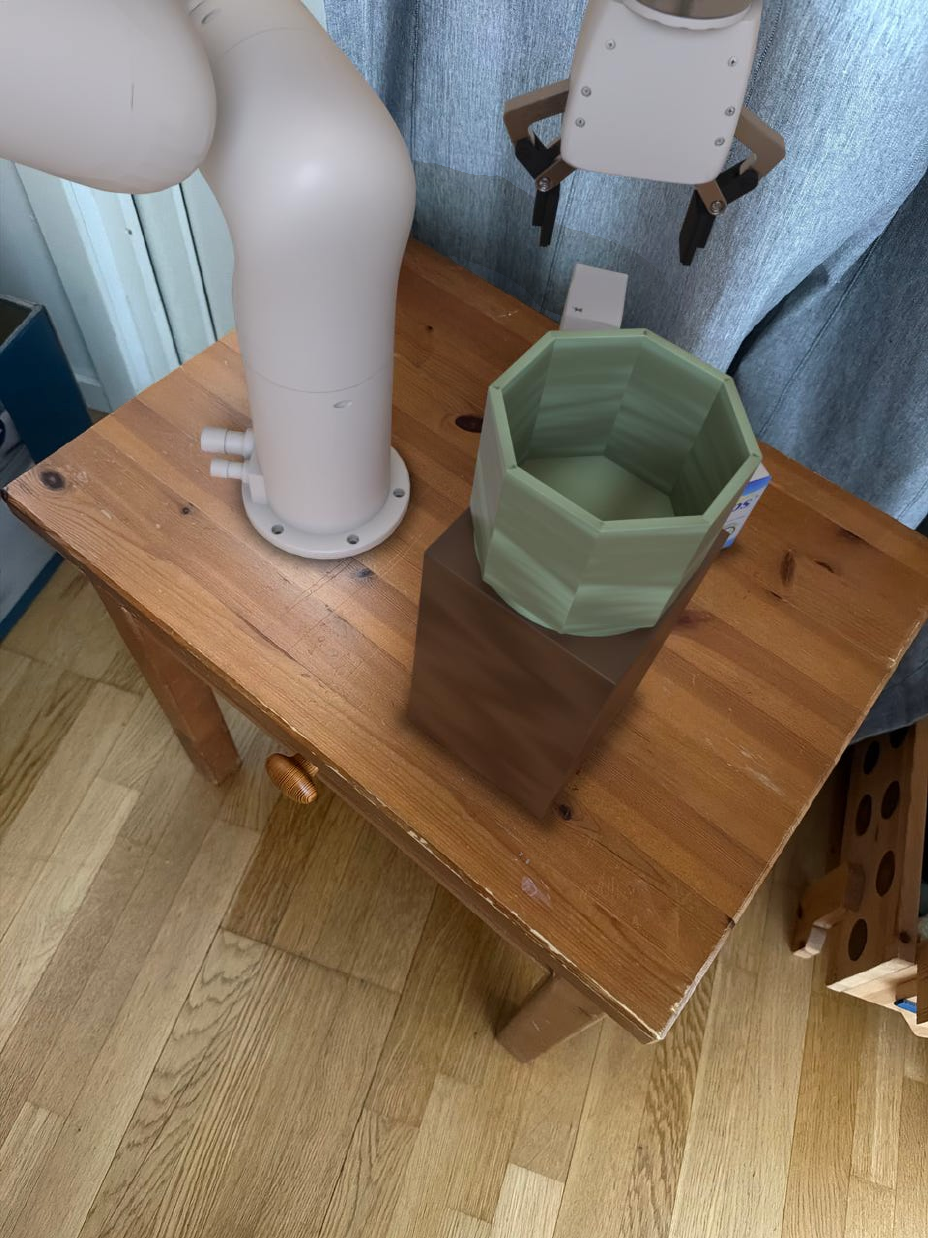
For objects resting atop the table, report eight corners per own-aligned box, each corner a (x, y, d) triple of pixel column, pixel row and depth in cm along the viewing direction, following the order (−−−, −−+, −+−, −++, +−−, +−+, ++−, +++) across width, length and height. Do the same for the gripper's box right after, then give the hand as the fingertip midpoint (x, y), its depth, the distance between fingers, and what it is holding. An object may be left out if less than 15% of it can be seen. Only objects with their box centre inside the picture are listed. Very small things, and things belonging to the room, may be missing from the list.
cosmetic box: (585, 441, 74) (621, 327, 63) (534, 429, 74) (562, 315, 63) (594, 388, 77) (630, 272, 66) (546, 377, 77) (574, 260, 66)
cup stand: (407, 719, 60) (434, 429, 35) (502, 610, 65) (586, 289, 40) (540, 820, 57) (672, 583, 33) (630, 699, 62) (803, 414, 37)
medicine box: (644, 577, 67) (678, 507, 60) (616, 531, 69) (646, 458, 62) (731, 547, 70) (775, 476, 62) (702, 503, 71) (741, 430, 64)
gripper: (844, -51, 49) (736, 224, 63) (528, -96, 48) (493, 191, 63) (861, 23, 45) (742, 297, 60) (519, -25, 44) (485, 263, 59)
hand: (614, 242), depth 61 cm, fingers open, 9 cm apart
